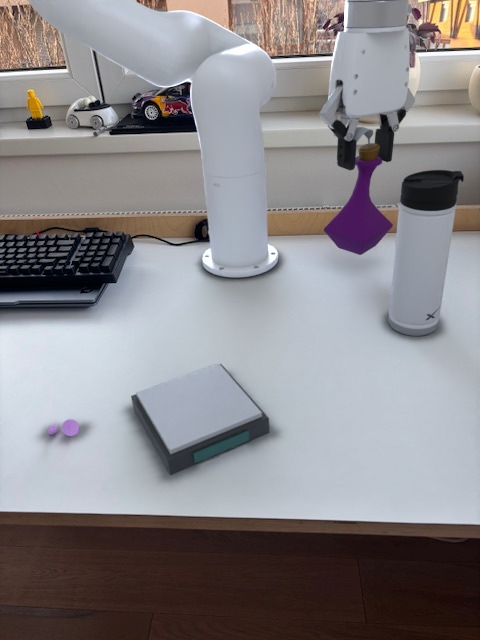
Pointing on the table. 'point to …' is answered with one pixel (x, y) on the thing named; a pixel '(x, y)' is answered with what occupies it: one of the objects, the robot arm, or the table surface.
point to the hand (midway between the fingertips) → (364, 162)
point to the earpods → (66, 428)
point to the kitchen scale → (198, 416)
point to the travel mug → (422, 250)
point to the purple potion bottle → (360, 206)
